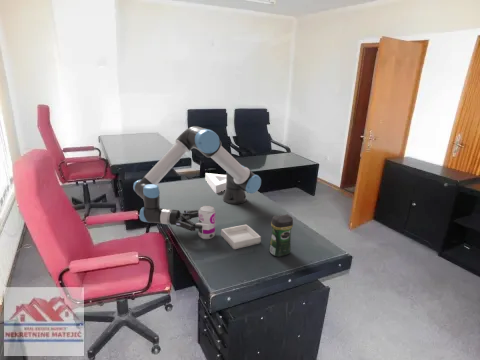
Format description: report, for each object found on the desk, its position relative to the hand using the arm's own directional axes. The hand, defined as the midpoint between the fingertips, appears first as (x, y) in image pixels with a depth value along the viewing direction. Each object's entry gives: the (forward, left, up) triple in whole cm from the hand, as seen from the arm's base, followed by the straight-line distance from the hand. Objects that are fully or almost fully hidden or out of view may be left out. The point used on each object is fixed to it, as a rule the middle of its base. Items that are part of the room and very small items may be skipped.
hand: (212, 221), depth 153 cm
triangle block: (-34, -65, -9) cm, 74 cm away
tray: (-12, +8, -8) cm, 17 cm away
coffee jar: (-23, +26, -9) cm, 36 cm away
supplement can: (+2, -2, -9) cm, 9 cm away
